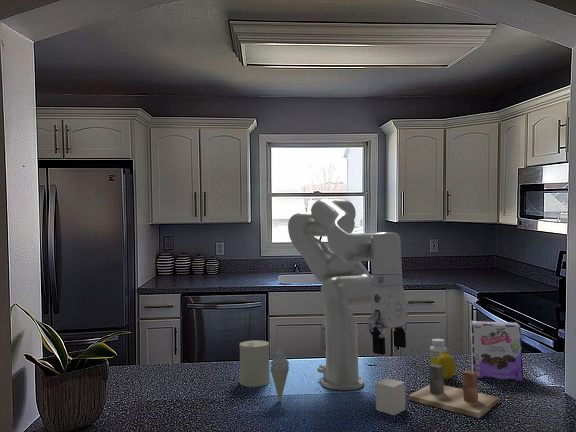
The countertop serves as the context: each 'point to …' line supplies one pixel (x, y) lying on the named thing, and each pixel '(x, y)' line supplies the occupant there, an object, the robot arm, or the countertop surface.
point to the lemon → (447, 365)
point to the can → (254, 363)
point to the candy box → (496, 350)
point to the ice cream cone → (279, 371)
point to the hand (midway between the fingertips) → (389, 350)
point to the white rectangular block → (390, 396)
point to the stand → (454, 394)
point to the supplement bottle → (437, 350)
